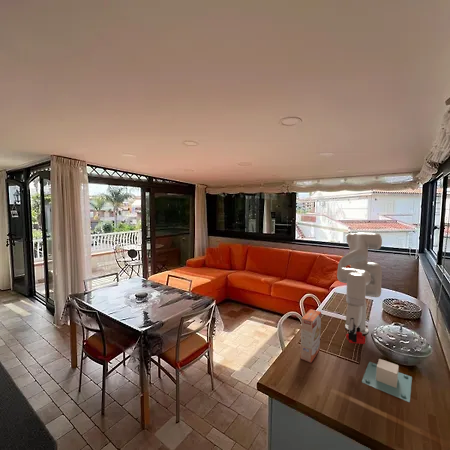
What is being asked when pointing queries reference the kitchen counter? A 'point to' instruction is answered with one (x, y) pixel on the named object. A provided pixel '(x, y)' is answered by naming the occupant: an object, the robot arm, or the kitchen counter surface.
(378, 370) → the base block
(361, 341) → the bracket
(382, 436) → the kitchen counter surface
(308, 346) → the cracker box
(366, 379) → the baseplate
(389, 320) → the kitchen counter surface
